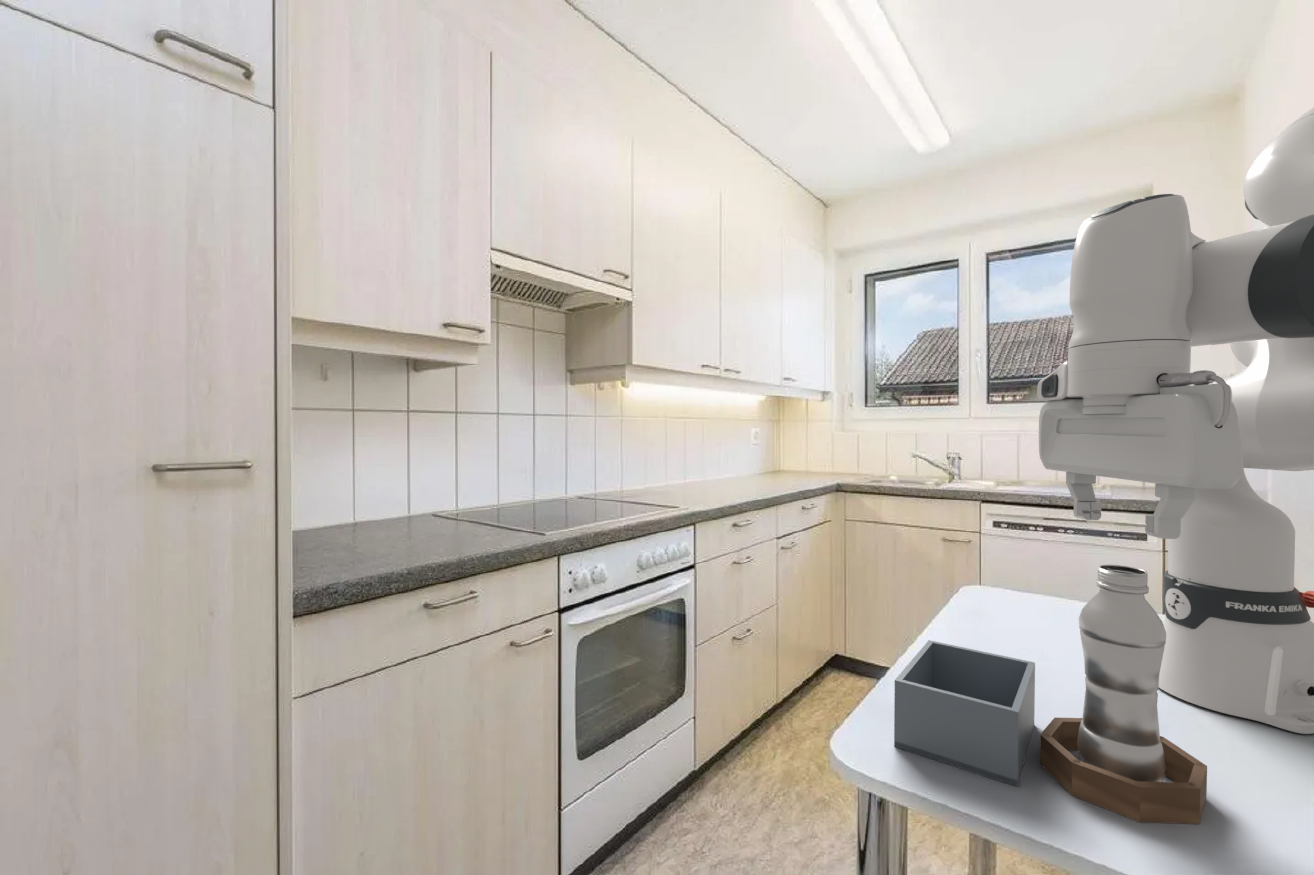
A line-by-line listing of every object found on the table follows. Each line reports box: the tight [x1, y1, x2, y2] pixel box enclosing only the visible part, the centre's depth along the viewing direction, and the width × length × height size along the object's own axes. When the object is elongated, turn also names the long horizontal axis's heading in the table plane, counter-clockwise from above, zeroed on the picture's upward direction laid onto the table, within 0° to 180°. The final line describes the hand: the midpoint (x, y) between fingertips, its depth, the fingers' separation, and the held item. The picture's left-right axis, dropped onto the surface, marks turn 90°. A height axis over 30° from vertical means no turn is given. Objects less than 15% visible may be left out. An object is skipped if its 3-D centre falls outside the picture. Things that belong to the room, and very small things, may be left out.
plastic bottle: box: [1077, 564, 1166, 782], centre depth 55 cm, size 6×7×20 cm
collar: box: [1039, 717, 1208, 825], centre depth 55 cm, size 12×12×3 cm
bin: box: [893, 639, 1036, 788], centre depth 63 cm, size 14×11×7 cm
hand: (1121, 527), depth 54 cm, fingers open, 8 cm apart
